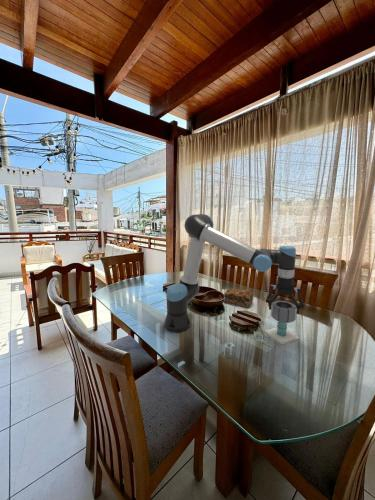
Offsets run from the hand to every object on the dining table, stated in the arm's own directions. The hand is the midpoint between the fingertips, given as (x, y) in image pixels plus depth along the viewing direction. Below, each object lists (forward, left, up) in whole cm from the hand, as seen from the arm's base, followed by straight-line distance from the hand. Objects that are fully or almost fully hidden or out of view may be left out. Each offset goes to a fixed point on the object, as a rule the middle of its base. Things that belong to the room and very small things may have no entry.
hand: (283, 317), depth 113 cm
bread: (+2, +43, -11) cm, 45 cm away
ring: (0, 0, 0) cm, 0 cm away
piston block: (0, 0, -11) cm, 11 cm away
